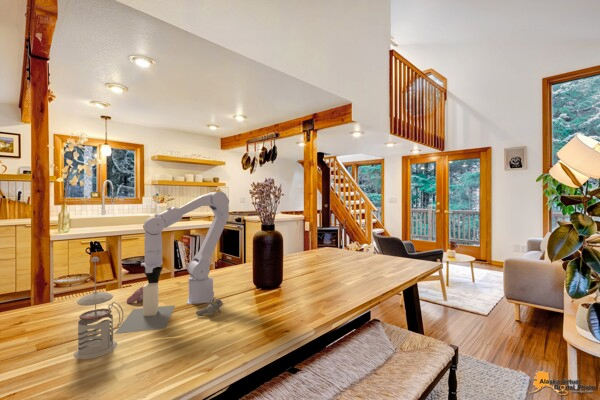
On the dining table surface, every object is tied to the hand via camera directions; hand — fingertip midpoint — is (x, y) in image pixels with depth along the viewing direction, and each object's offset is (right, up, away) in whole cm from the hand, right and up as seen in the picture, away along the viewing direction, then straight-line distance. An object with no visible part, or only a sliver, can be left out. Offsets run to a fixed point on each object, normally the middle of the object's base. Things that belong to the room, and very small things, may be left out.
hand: (153, 288), depth 107 cm
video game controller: (-10, -8, +10) cm, 16 cm away
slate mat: (+2, -8, -8) cm, 12 cm away
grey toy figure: (+23, -8, -6) cm, 25 cm away
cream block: (+1, -8, -4) cm, 9 cm away
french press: (-1, -8, -28) cm, 29 cm away
